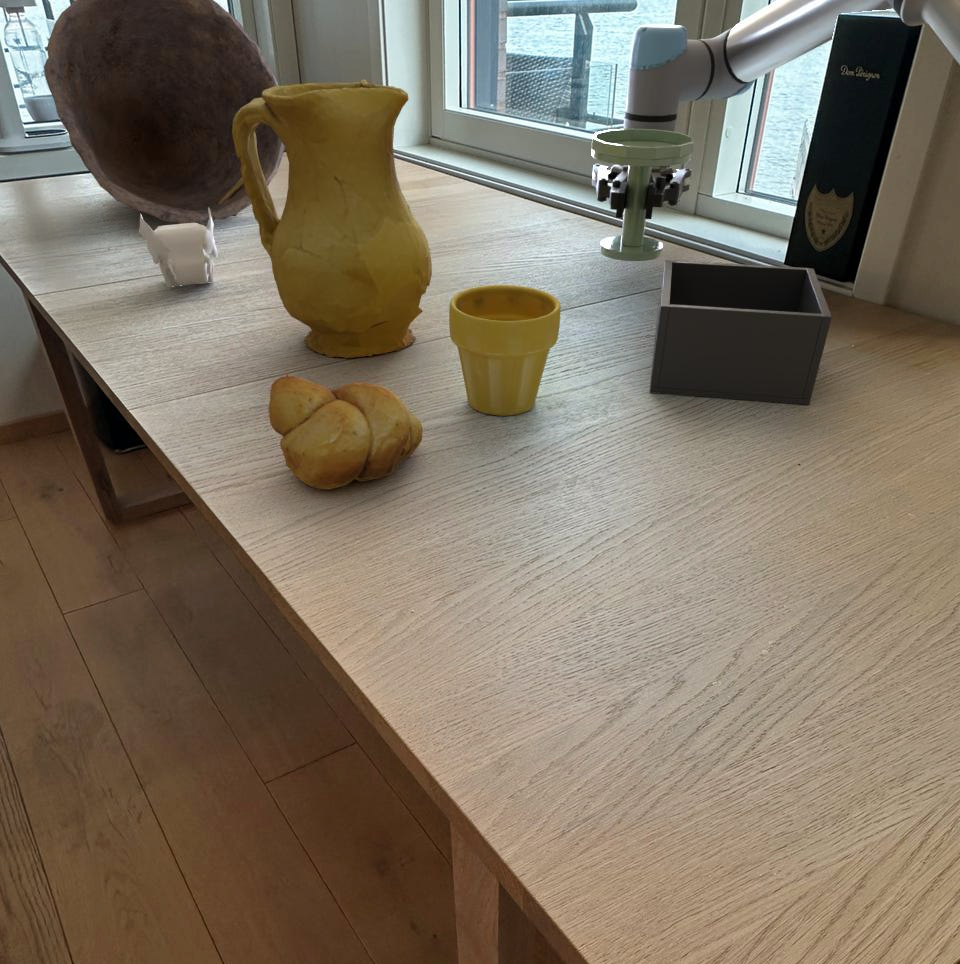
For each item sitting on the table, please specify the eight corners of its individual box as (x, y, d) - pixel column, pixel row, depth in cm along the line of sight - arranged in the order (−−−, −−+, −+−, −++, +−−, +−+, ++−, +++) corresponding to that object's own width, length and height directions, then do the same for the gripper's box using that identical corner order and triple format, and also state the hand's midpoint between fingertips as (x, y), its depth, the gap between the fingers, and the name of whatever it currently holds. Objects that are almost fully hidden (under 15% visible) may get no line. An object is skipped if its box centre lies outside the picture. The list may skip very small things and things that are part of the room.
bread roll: (406, 432, 80) (401, 346, 74) (448, 478, 73) (446, 387, 68) (270, 459, 75) (255, 370, 70) (300, 510, 68) (286, 416, 63)
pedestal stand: (677, 241, 115) (693, 130, 106) (678, 268, 106) (695, 148, 97) (588, 237, 116) (596, 127, 108) (580, 263, 107) (589, 145, 99)
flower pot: (576, 408, 84) (584, 306, 78) (489, 434, 79) (490, 328, 73) (514, 373, 90) (517, 277, 84) (430, 396, 86) (427, 296, 80)
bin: (794, 348, 96) (813, 268, 91) (809, 405, 84) (832, 316, 79) (654, 338, 99) (665, 259, 93) (649, 392, 87) (661, 306, 81)
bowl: (107, 6, 148) (119, -92, 122) (280, 151, 164) (325, 92, 138) (4, 172, 146) (-5, 108, 119) (190, 302, 162) (218, 272, 136)
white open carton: (159, 302, 108) (142, 226, 102) (148, 276, 116) (131, 204, 111) (235, 293, 111) (222, 219, 105) (219, 268, 119) (206, 198, 114)
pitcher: (352, 376, 88) (322, 90, 74) (247, 342, 99) (202, 84, 84) (466, 338, 99) (459, 79, 84) (360, 310, 109) (337, 76, 94)
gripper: (696, 198, 122) (697, 243, 104) (584, 193, 124) (566, 236, 106) (705, 138, 117) (707, 174, 99) (589, 134, 119) (571, 168, 102)
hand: (634, 206), depth 103 cm, fingers closed on pedestal stand, 3 cm apart
